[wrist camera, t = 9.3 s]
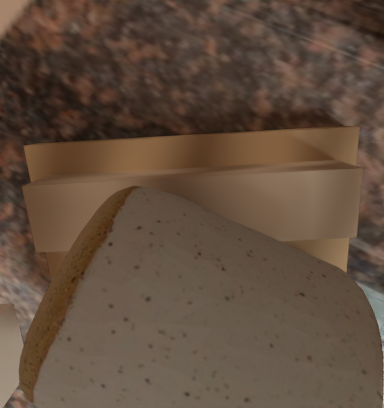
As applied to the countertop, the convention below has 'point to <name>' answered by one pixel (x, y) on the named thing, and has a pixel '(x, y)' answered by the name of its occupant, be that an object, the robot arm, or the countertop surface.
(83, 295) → the speckled stoneware cup
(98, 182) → the wooden block with ridges
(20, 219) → the countertop surface
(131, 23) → the countertop surface
